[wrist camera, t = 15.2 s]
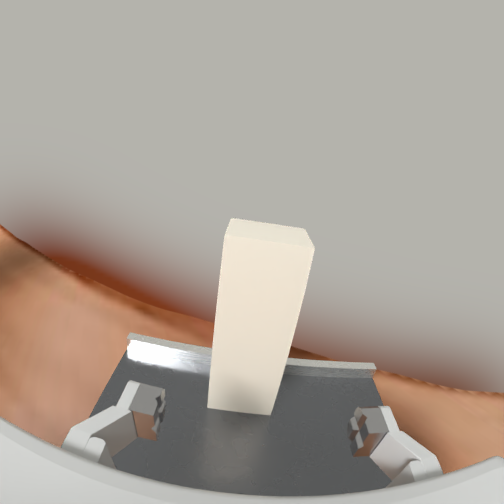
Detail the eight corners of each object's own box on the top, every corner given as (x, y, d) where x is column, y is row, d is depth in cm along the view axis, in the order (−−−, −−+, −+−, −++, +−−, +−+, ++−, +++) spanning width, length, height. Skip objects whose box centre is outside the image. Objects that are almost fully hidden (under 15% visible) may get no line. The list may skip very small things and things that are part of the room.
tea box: (270, 415, 21) (315, 248, 17) (207, 407, 21) (224, 234, 16) (269, 379, 25) (304, 227, 21) (213, 372, 25) (231, 216, 21)
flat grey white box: (73, 506, 12) (48, 478, 10) (135, 369, 28) (131, 330, 27) (395, 532, 13) (431, 508, 11) (355, 396, 29) (372, 361, 27)
